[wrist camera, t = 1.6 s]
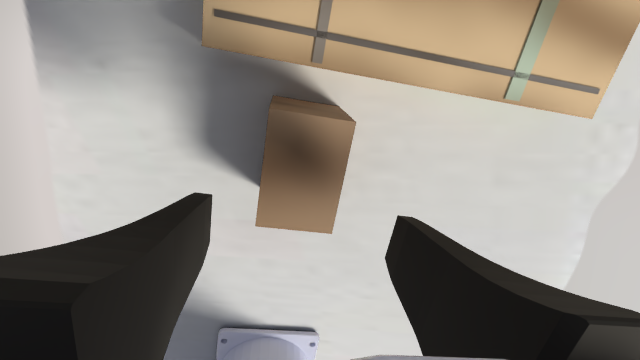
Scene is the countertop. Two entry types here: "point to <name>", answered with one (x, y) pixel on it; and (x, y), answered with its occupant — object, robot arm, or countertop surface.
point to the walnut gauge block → (303, 165)
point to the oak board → (443, 43)
